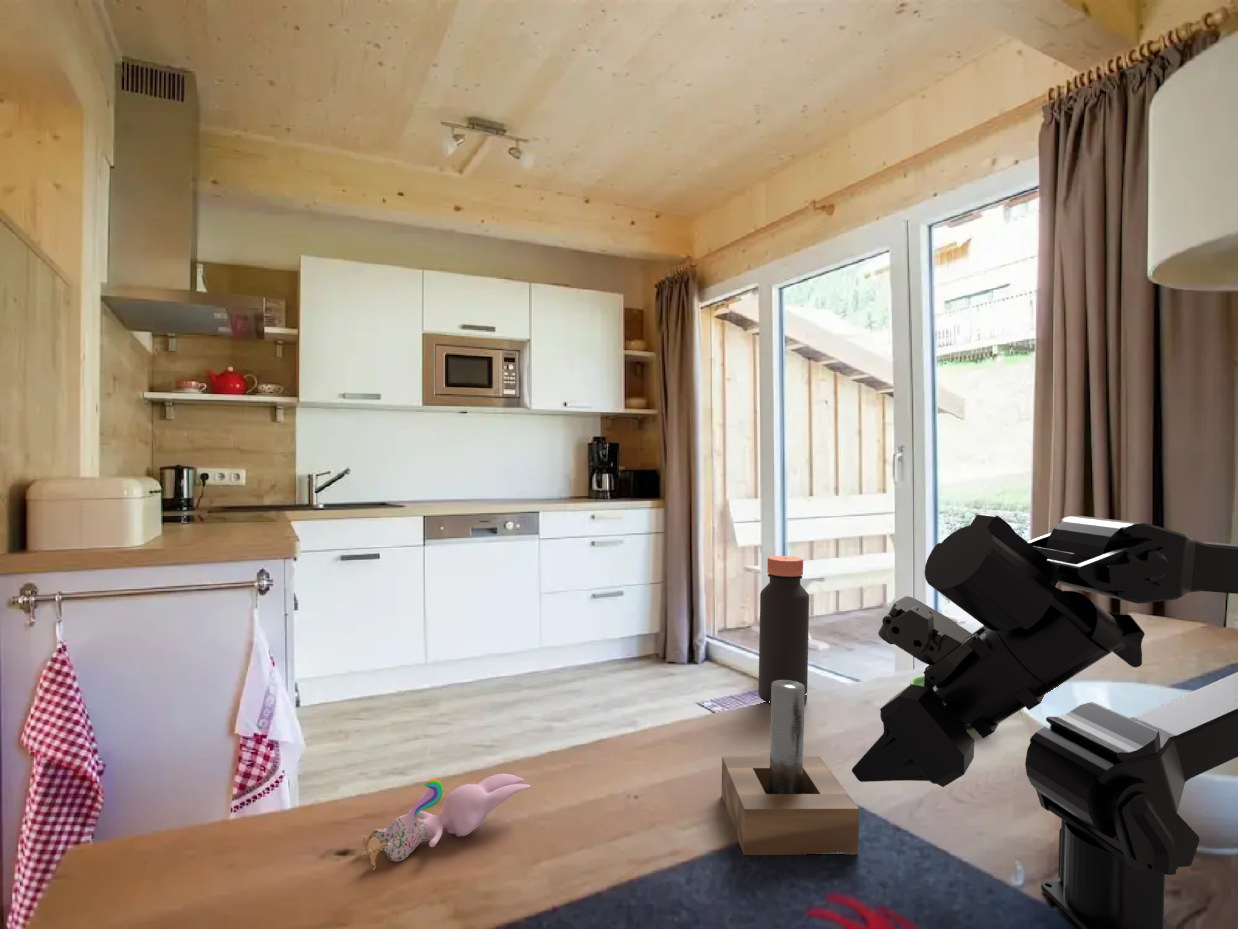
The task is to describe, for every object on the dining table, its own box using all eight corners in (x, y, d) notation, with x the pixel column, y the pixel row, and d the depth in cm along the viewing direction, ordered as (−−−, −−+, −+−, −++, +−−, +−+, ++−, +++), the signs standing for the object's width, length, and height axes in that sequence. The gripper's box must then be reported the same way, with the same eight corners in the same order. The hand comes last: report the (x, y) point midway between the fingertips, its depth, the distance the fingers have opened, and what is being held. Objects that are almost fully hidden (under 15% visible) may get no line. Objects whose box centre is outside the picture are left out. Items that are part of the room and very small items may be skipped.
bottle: (817, 702, 94) (820, 560, 93) (780, 710, 90) (783, 563, 90) (784, 687, 100) (787, 553, 99) (748, 694, 96) (751, 556, 96)
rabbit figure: (381, 899, 53) (545, 814, 62) (369, 830, 53) (536, 753, 61) (360, 859, 58) (514, 785, 67) (350, 796, 58) (506, 729, 66)
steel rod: (805, 832, 61) (809, 691, 61) (773, 832, 61) (776, 691, 61) (795, 814, 64) (798, 680, 64) (764, 814, 64) (767, 679, 64)
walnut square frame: (858, 854, 58) (859, 808, 58) (743, 855, 57) (744, 809, 57) (819, 795, 68) (819, 756, 68) (721, 795, 67) (722, 756, 67)
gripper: (969, 558, 62) (847, 653, 69) (914, 587, 47) (766, 705, 54) (1070, 660, 57) (928, 752, 64) (1043, 728, 42) (862, 837, 49)
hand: (874, 756), depth 58 cm, fingers open, 9 cm apart
